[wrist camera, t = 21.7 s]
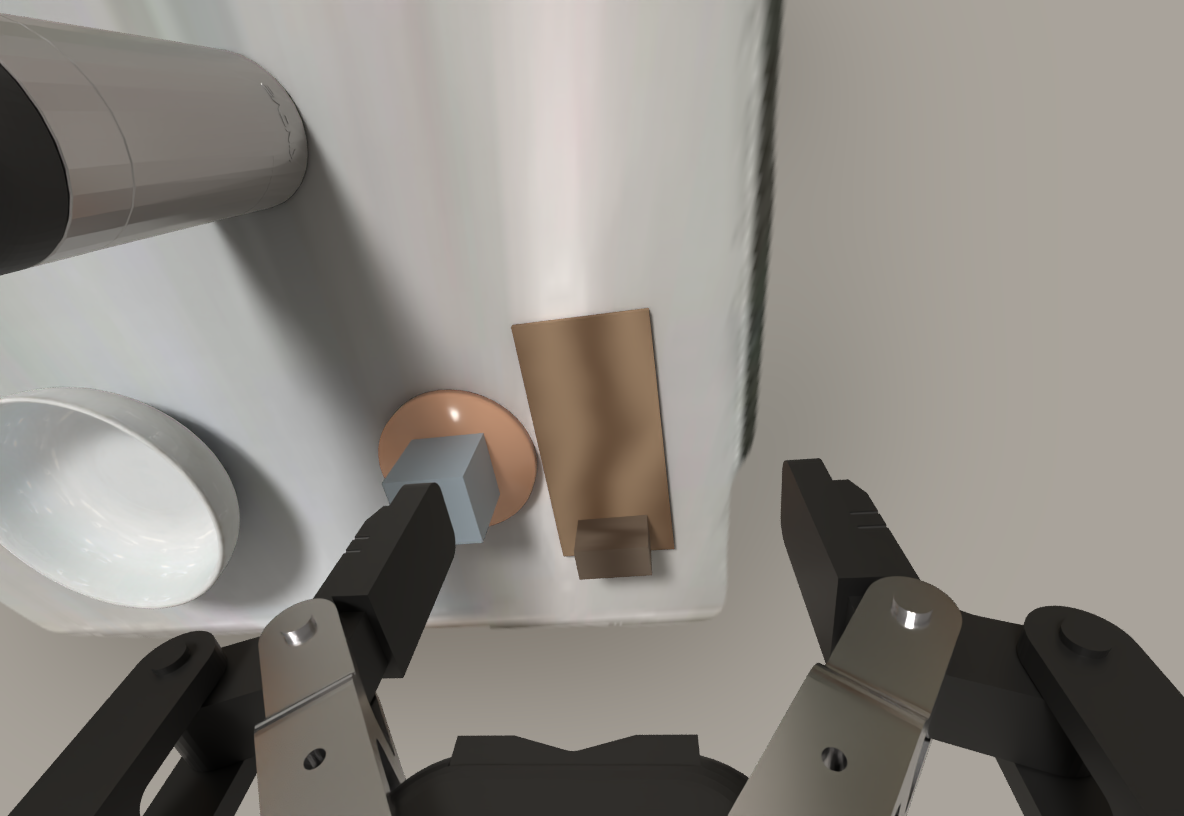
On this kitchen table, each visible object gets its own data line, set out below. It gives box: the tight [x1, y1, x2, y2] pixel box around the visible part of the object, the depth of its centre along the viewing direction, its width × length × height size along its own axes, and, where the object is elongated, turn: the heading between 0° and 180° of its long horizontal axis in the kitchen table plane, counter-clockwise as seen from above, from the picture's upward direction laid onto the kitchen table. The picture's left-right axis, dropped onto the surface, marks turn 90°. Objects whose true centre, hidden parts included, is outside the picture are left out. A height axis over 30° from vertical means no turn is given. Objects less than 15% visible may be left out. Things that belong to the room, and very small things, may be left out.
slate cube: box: [382, 433, 500, 545], centre depth 43 cm, size 6×6×6 cm
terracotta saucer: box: [378, 390, 537, 526], centre depth 46 cm, size 13×13×1 cm
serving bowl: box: [0, 387, 240, 609], centre depth 46 cm, size 21×21×7 cm
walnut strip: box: [511, 308, 674, 580], centre depth 43 cm, size 10×22×4 cm, turn 9°
